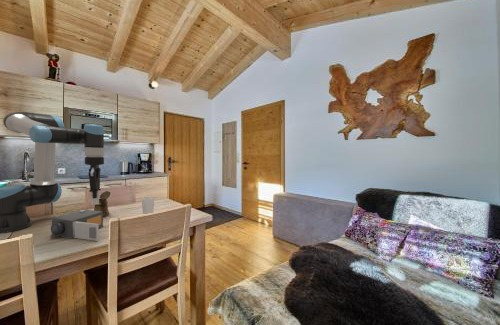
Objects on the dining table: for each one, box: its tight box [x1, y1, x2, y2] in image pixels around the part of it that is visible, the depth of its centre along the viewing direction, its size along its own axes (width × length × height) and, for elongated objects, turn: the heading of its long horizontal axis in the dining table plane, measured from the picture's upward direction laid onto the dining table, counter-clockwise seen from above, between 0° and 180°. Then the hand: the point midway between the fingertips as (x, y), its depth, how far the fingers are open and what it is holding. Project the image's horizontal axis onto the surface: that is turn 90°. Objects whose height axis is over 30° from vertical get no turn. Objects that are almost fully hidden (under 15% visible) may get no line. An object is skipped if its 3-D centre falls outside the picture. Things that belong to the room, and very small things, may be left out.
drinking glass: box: [141, 195, 155, 215], centre depth 128 cm, size 7×7×15 cm
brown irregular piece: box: [93, 190, 111, 218], centre depth 135 cm, size 9×14×18 cm, turn 57°
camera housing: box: [50, 208, 104, 239], centre depth 110 cm, size 14×19×10 cm
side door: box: [72, 221, 100, 242], centre depth 100 cm, size 2×15×8 cm, turn 78°
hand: (95, 204), depth 101 cm, fingers closed
